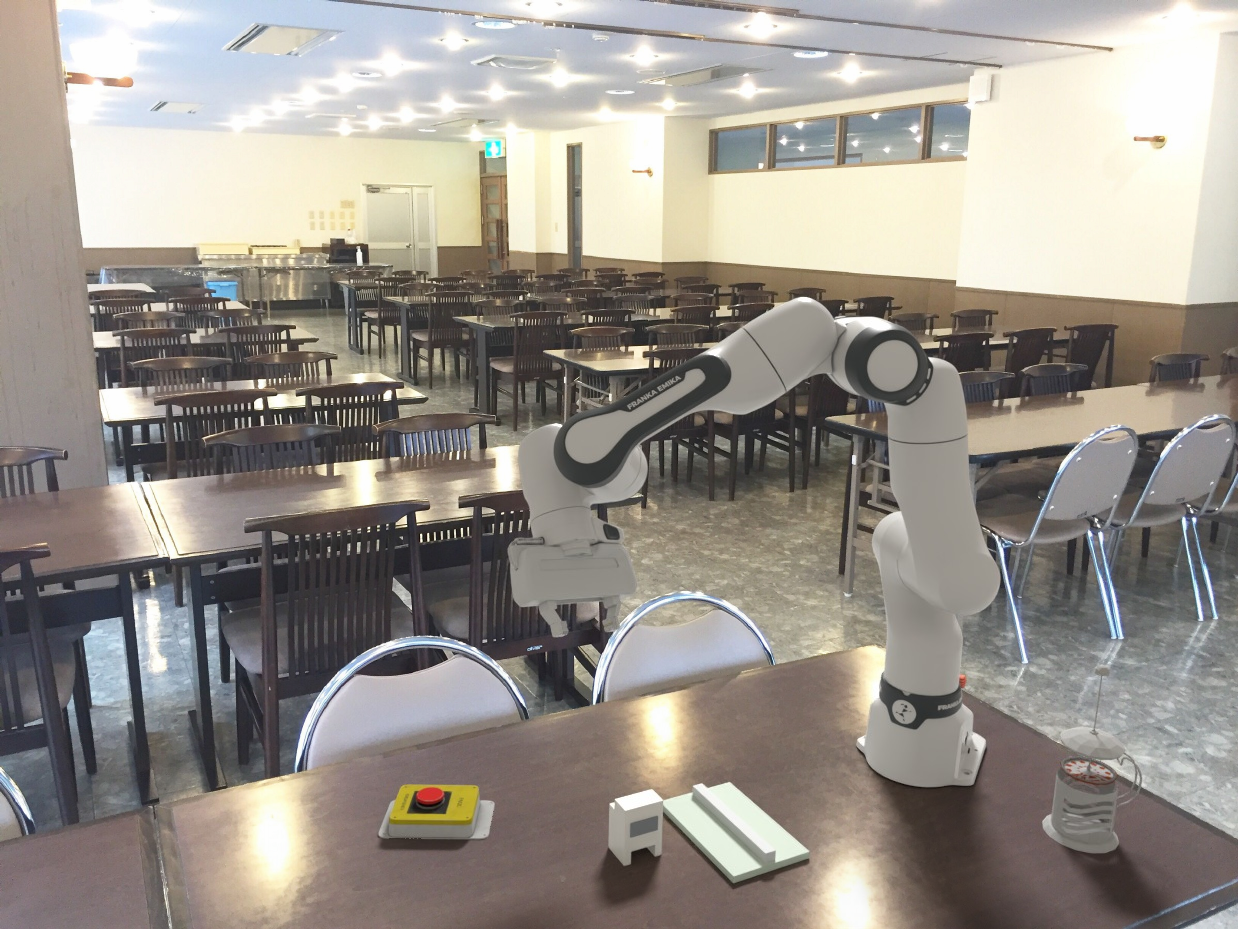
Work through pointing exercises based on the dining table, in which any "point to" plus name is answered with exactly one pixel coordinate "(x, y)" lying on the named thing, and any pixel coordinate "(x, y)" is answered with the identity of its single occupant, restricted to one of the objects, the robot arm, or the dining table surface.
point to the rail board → (733, 831)
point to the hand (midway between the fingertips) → (587, 633)
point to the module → (635, 825)
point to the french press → (1088, 789)
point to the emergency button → (438, 813)
